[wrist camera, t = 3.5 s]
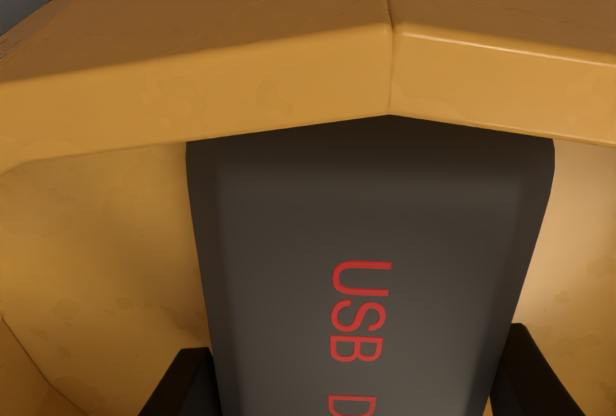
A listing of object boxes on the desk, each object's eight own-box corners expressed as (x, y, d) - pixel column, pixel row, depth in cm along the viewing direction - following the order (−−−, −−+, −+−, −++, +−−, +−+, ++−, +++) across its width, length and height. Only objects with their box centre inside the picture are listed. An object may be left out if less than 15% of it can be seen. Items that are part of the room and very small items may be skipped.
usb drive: (529, 79, 9) (587, 174, 7) (432, 474, 16) (445, 581, 14) (206, 72, 9) (163, 162, 7) (250, 464, 17) (235, 569, 14)
